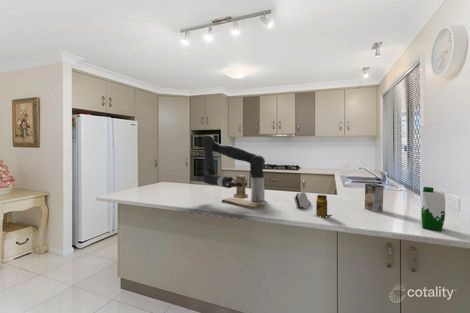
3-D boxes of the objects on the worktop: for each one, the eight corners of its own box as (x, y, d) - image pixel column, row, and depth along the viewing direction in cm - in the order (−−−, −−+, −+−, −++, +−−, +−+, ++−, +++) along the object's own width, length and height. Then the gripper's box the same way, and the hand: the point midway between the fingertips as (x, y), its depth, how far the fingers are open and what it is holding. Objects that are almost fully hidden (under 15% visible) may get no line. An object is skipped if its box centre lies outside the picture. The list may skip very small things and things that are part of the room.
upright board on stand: (240, 195, 166) (240, 174, 165) (248, 197, 161) (248, 175, 160) (233, 197, 161) (233, 175, 160) (241, 199, 156) (241, 176, 156)
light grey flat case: (304, 209, 160) (299, 193, 162) (297, 210, 163) (292, 195, 164) (311, 203, 175) (306, 189, 176) (304, 205, 177) (300, 191, 178)
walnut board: (231, 199, 188) (231, 197, 188) (263, 206, 168) (263, 203, 167) (221, 201, 181) (221, 199, 181) (253, 209, 160) (253, 206, 160)
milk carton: (421, 224, 130) (423, 185, 129) (444, 228, 124) (446, 187, 123) (420, 228, 123) (421, 188, 122) (443, 232, 117) (445, 190, 116)
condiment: (313, 215, 146) (313, 195, 145) (320, 212, 152) (320, 193, 151) (325, 218, 141) (325, 197, 140) (332, 215, 146) (332, 195, 146)
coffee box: (363, 208, 161) (364, 183, 160) (372, 208, 162) (373, 183, 161) (374, 212, 152) (374, 186, 151) (383, 211, 153) (384, 185, 152)
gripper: (217, 177, 165) (236, 180, 153) (232, 175, 175) (251, 177, 163) (217, 188, 166) (236, 192, 154) (232, 186, 176) (251, 189, 164)
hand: (244, 184), depth 159 cm, fingers closed on upright board on stand, 4 cm apart
